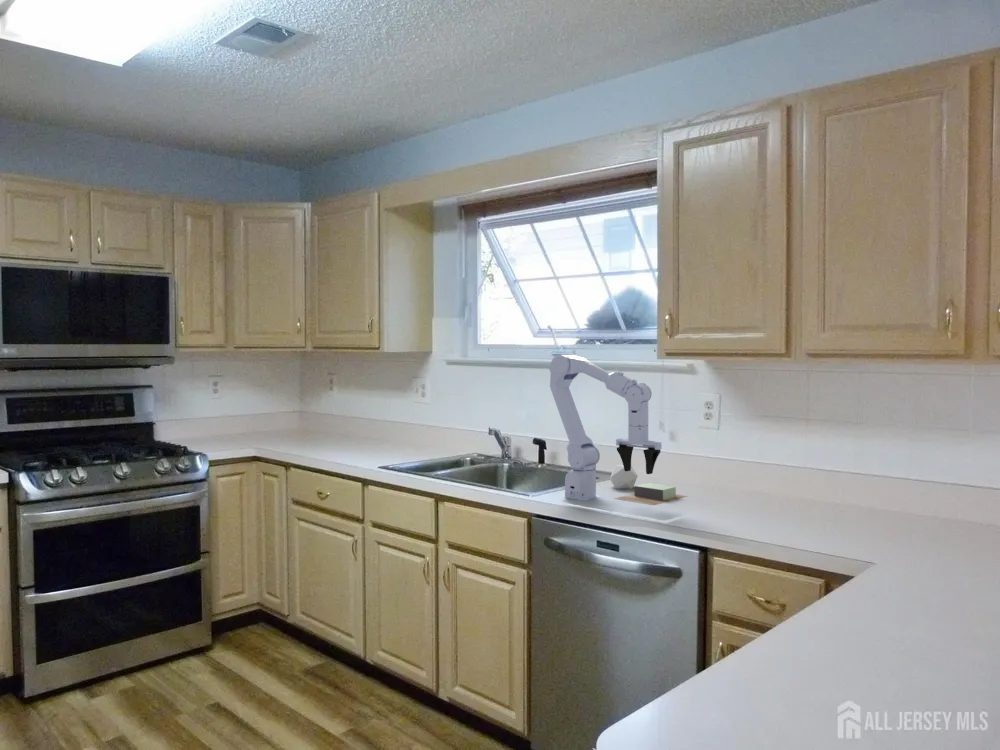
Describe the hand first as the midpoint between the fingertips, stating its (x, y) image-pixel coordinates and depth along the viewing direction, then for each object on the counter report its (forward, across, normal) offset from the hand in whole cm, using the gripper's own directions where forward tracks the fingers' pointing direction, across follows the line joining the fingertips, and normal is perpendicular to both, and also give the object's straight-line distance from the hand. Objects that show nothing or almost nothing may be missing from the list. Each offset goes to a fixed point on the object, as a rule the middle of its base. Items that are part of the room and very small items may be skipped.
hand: (638, 472), depth 223 cm
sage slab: (+7, +2, -7) cm, 11 cm away
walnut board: (+9, +2, -9) cm, 13 cm away
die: (+10, +18, -17) cm, 26 cm away
